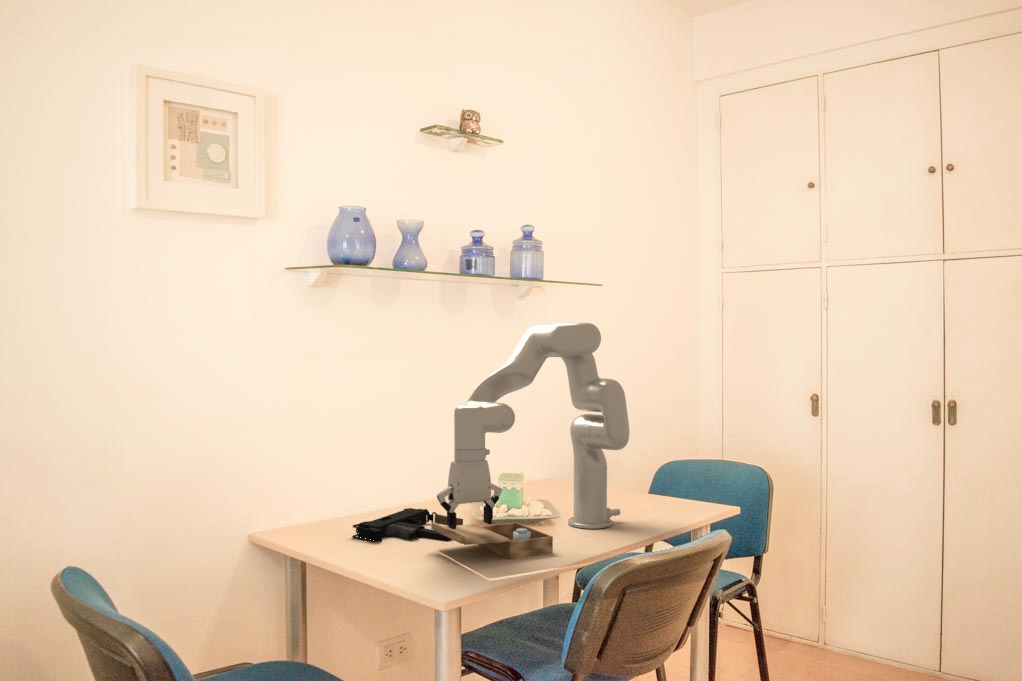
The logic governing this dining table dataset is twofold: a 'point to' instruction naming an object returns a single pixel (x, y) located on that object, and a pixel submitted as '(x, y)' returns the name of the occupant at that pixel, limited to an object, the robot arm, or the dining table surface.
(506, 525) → the box
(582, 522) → the robot arm
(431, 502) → the dining table surface
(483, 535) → the lid
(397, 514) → the submachine gun
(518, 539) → the blue jar
